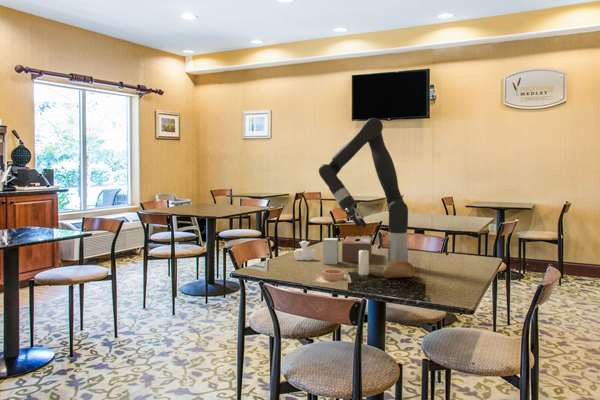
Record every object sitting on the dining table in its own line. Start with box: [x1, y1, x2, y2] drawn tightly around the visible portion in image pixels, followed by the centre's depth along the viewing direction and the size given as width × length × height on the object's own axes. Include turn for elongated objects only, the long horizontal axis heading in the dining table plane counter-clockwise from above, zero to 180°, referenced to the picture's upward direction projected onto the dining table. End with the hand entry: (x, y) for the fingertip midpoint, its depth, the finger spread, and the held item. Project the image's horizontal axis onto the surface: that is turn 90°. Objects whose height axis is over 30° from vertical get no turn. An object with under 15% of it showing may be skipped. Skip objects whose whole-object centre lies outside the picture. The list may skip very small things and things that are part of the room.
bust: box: [293, 240, 317, 262], centre depth 261 cm, size 12×8×11 cm
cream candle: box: [358, 249, 370, 276], centre depth 218 cm, size 4×4×13 cm
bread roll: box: [382, 260, 416, 279], centre depth 217 cm, size 10×15×8 cm, turn 97°
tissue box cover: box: [341, 235, 373, 263], centre depth 266 cm, size 26×14×10 cm, turn 169°
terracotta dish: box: [321, 268, 345, 281], centre depth 210 cm, size 9×9×3 cm
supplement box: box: [322, 237, 339, 265], centre depth 251 cm, size 7×7×13 cm
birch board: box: [315, 273, 352, 284], centre depth 210 cm, size 15×15×2 cm
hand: (362, 226), depth 230 cm, fingers open, 8 cm apart
